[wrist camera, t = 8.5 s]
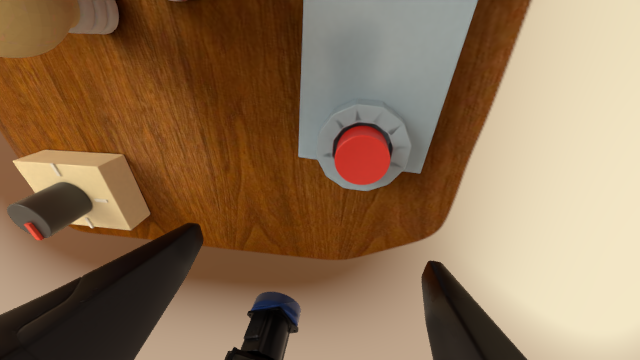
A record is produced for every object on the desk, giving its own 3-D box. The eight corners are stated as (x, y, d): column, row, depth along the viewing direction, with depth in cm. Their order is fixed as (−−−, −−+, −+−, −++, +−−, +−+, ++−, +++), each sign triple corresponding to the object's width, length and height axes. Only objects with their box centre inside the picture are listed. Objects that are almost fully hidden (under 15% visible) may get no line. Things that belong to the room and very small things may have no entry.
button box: (411, 174, 22) (420, 199, 18) (302, 159, 23) (292, 180, 19) (517, -165, 12) (580, -249, 8) (317, -167, 13) (300, -243, 9)
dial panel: (123, 153, 25) (95, 166, 23) (151, 214, 29) (130, 232, 27) (44, 148, 27) (9, 160, 24) (82, 208, 31) (55, 224, 28)
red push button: (381, 174, 18) (383, 189, 16) (334, 168, 18) (331, 181, 17) (392, 128, 16) (396, 139, 14) (340, 122, 17) (337, 132, 15)
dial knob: (47, 180, 25) (-8, 204, 21) (80, 182, 24) (29, 208, 21) (68, 211, 27) (21, 238, 23) (99, 214, 26) (56, 242, 23)
